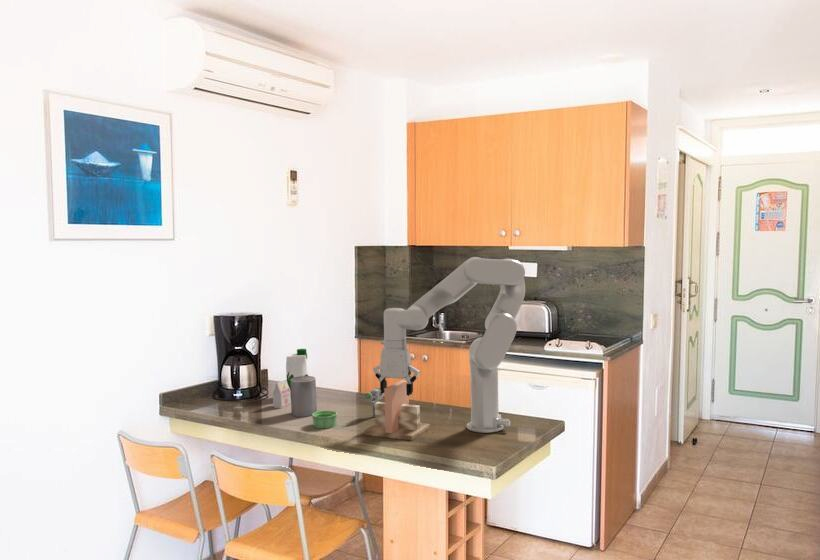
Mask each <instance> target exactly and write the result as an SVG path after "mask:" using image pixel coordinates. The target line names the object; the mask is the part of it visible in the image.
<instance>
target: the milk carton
mask: <svg viewBox="0 0 820 560" xmlns="http://www.w3.org/2000/svg"><path fill="white" fill-rule="evenodd" d="M308 361H309V360H308V353H307V349H306V348H297V349H296V352H294V353H288V354H287V355H286V362H285V364H286V365H285V372H286V373H285V374H286V376H285V377H286V380H287V383H288V386H289V388H290V394H291V387H290V379H291V378H294V377H299V376H309V365H308V364H309V363H308Z"/></svg>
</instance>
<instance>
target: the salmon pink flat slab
mask: <svg viewBox="0 0 820 560" xmlns="http://www.w3.org/2000/svg"><path fill="white" fill-rule="evenodd" d="M406 384H408V382H407V381H406V380H405V379H401V380H398V381H397V382H395V383H392V384H391V385H389V386H387V387H386V388H384V393H383V394H384V402H385V430H386V432H387V433H393V432H395V431H396V430H398V429H399V426H398V417H399V416H401V405H403V404H409V405H410V400H409V399H410V398H409V397H410V395H409V396H408V395H407V391H406Z"/></svg>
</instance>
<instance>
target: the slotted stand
mask: <svg viewBox="0 0 820 560" xmlns="http://www.w3.org/2000/svg"><path fill="white" fill-rule="evenodd" d="M420 407H421V405H420V404H419V405H417V404H410V403H409V404H403V405H401V416H399V417H398V426H399V429H398V430H396V431H395V432H393V433H387V432H386V430H385V401H378V402H376V403H375V417H374V424H373V425H371V426H370V427H368V428H366V429H365V430H364V431H363V433H364V436H370V435H371V436H372V437H379V436H380V437H381V438H387V437H388V438H389V439H396V438H397V440H398V439H399V440H404V441H405V440H406V441H407V440H408V441H413V440H415V439H416V438H418V437H419V436H422V435H423V434H424V433H425V432H426V431H428V430H429V429H430V428H431V424H430V423H426V422H425V423H424V422H421V411H420V410H421V408H420Z"/></svg>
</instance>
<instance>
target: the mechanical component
mask: <svg viewBox="0 0 820 560" xmlns="http://www.w3.org/2000/svg"><path fill="white" fill-rule="evenodd" d="M364 397H365V402H366V403H371V404H370V405H371V406H372V417H373V418H375V403H376V402H379V401H380V400H383V398H384V393H381V390H380V387H376V388H373V389H370V392H366V393H365V396H364Z"/></svg>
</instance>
